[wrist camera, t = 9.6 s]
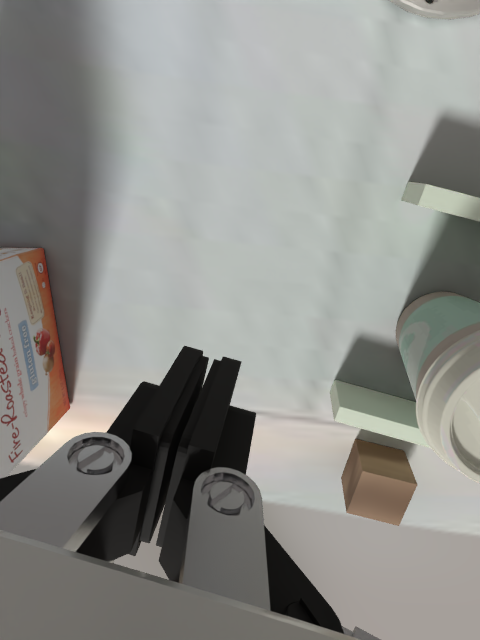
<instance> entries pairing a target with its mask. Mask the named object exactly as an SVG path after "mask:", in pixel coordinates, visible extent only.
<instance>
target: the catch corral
mask: <svg viewBox="0 0 480 640" xmlns="http://www.w3.org/2000/svg"><path fill="white" fill-rule="evenodd" d="M402 201H405V202H409V203H412V204H415V205H419V206H422V207H426V208H430V209H434V210H437V211H441V212H445V213H449V214H453V215H456V216H460V217H464V218H468V219H471V220H475V221H479V222H480V198H478V197H474V196H470V195H466V194H463V193H459V192H455V191H451V190H447V189H444V188H440V187H436V186H432V185H428V184H423V183H415V182H408V184H407V186H406V189H405V192H404V194H403V197H402ZM330 397H331V403H332V410H333V416H334V421H336V422H340V423H343V424H347V425H350V426H354V427H357V428H361V429H365V430H368V431H372V432H375V433H379V434H382V435H386V436H389V437H393V438H397V439H400V440H404V441H407V442H411V443H414V444H418V445H422V446H425V447H429V448H431V447H430V446H429V445H428V444H427V442H426V441H425V439H424V438H423V436H422V434H421V432H420V429H419V426H418V423H417V417H416V402H414V401H410V400H407V399H403V398H399V397H396V396H392V395H389V394H385V393H381V392H378V391H374V390H371V389H367V388H363V387H360V386H356V385H353V384H349V383H346V382H342V381H338V380H334V383H333V385H332V388H331V391H330Z"/></svg>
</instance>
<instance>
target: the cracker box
mask: <svg viewBox="0 0 480 640" xmlns="http://www.w3.org/2000/svg"><path fill="white" fill-rule="evenodd" d="M69 409H70V404H69V399H68V393H67V387H66V381H65V374H64V369H63V363H62V357H61V351H60V345H59V339H58V333H57V327H56V321H55V315H54V308H53V302H52V296H51V290H50V284H49V278H48V272H47V266H46V259H45V253H44V249H43V248H0V478H4V477H7V476H8V475H9V474H10V473H11V471H13V469H14V468H15V467H16V466H17V465H18V464H19V463H20V462H21V461H22V460H23V459H24V458H25V457H26V455H27V454H28V453H29V452H30V451H31V450H32V449H33V448H34V447H35V446H36V445H37V444H38V443H39V441H40V440H41V439H42V438H43V437H44V436H45V435H46V434H47V433H48V431H49V430H50V429H51V428H52V427H53V426H54V425H55V424H56V423H57V422H58V421H59V420H60V419H61V417H62V416H63V415H64V414H65V413H66V412H67V411H68V410H69Z"/></svg>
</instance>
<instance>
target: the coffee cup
mask: <svg viewBox="0 0 480 640" xmlns="http://www.w3.org/2000/svg"><path fill="white" fill-rule="evenodd" d="M396 340H397V344H398V347H399V350H400V353H401V356H402V359H403V363H404V366H405V369H406V372H407V375H408V378H409V381H410V384H411V387H412V390H413V393H414V396H415V399H416V417H417V423H418V426H419V429H420V432H421V434H422V436H423V438H424V439H425V441H426V442H427V444H428V445H429V446H430V447H431V449H432V450H433V451H434V452H435V453H436V454H437V455H438V456H439V457H440V458H441V459H442V460H443V461H444V462H445V463H447V464H448V465H450V466H451V467H453V468H454V469H456V470H458V471H460V472H461V473H462V474H463V475H465V476H466V477H468V478H469V479H471V480H473V481H475V482H477V483H480V303H479V302H477V301H474V300H472V299H469V298H467V297H464V296H462V295H459V294H456V293H453V292H433V293H429V294H426V295H424V296H421V297H420V298H418V299H416V300H415V301H413V302H412V303H411V304H410V305H409V306H408V307H407V308H406V309H405V310H404V311H403V313H402V314H401V316H400V318H399V320H398V323H397V327H396Z"/></svg>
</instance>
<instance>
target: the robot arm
mask: <svg viewBox="0 0 480 640" xmlns="http://www.w3.org/2000/svg"><path fill="white" fill-rule="evenodd" d="M389 1H390V2H392V3H394V4H395V5H397V6H399V7H400V8H402V9H404V10H405V11H407V12H410V13H413V14H416V15H419V16H422V17H426V18H433V19H446V20H451V19H458V18H465V17H472V16H475V15H478V14H480V0H432V3H431V4H428V3H427V2H426V1H425V0H389ZM208 360H209V358H208V357H204V356H203V351H201V350H198V349H194V348H191V347H187V346H184V347H183V348H182V350H181V352H180V353H179V355H178V357H177V358H176V360H175V361H174V363H173V365H172V366H171V368H170V370H169V371H168V373H167V375H166V376H165V378H164V379H163V381H162V383H161V384H160V386H158V385H155V384H151V383H148V382H142V383H141V384H140V385H139V387H138V388H137V390H136V391H135V392H134V394H133V395H132V397H131V398H130V400H129V401H128V402H127V404H126V405H125V407H124V408H123V410H122V411H121V412H120V414H119V415H118V417H117V418H116V420H115V421H114V423H113V424H112V425H111V427H110V428H109V430H108V431H107V433H102V432H91V433H84V434H81V435H79V436H76V437H74V438H72V439H71V440H69V441H68V442H66V443H65V444H64V445H63V446H62V447H61V448H60V449H59V450H57V451H56V452H55V453H54V454H53V455H52V456H51V457H50V458H49V459H47V460H46V461H45V462H44V463H43V464H42V465H41V466H40V467H38V468H37V469H34V470H30V471H27V472H23V473H19V474H15V475H11V476H8V477H4V478H0V640H380V639H378V638H377V637H375V636H373V635H371V634H369V633H367V632H366V631H364V630H362V629H360V628H358V627H355V628H354V630H353V632H352V631H350V630H348V629H346V628H344V627H343V626H341V623H340V621H339V619H338V617H337V615H336V614H335V612H334V611H333V609H332V608H331V606H330V605H329V604H328V603H327V602H326V600H325V599H324V598H323V597H322V595H321V594H320V593H319V592H318V591H317V589H316V588H315V587H314V586H313V584H312V583H311V582H310V581H309V579H308V578H307V577H306V576H305V575H304V573H303V572H302V571H301V570H300V569H299V567H298V566H297V565H296V564H295V562H294V561H293V560H292V559H291V558H290V556H289V555H288V554H287V553H286V551H285V550H284V549H283V548H282V547H281V545H280V544H279V543H278V542H277V540H276V539H275V538H274V537H273V535H272V534H271V533H270V532H269V531H268V529H267V528H266V527H265V526H264V519H263V506H262V497H261V493H260V490H259V488H258V487H257V485H256V484H255V482H254V481H253V480H251V479H250V478H249V477H248V476H247V475H246V469H247V464H248V458H249V452H250V446H251V440H252V435H253V429H254V423H255V417H256V413H254V412H251V411H247V410H244V409H240V408H237V407H233V406H230V402H231V398H232V395H233V391H234V387H235V384H236V380H237V376H238V372H239V369H240V365H241V361H238V360H234V359H230V358H227V357H223V358H222V360H221V361H219V360H215V359H214V361H213V364H212V366H211V368H210V371H209V373H208V375H207V378H206V380H205V383H204V385H203V382H204V377H205V373H206V369H207V365H208ZM202 386H203V387H202ZM165 502H166V503H165ZM164 505H165V507H164ZM163 507H164V512H163V516H162V521H161V525H160V529H159V534H158V539H157V543H156V545H157V546H160V547H162V549H161V553H160V557H159V562H160V564H161V566H162V567H163V569H164V571H165V573H166V575H167V576H168V578H169V580H167V579H164V578H161V577H157V576H154V575H150V574H147V573H144V572H140V571H137V570H134V569H130V568H127V567H123V566H120V565H116V564H114V563H113V562H114V560H115V559H117V558H118V557H121V556H123V555H126V554H130V555H133V556H135V555H136V553H137V550H138V548H139V546H140V543H141V541H143V542H146V543H150V541H151V538H152V536H153V533H154V531H155V528H156V526H157V523H158V520H159V518H160V515H161V512H162V510H163Z"/></svg>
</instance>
